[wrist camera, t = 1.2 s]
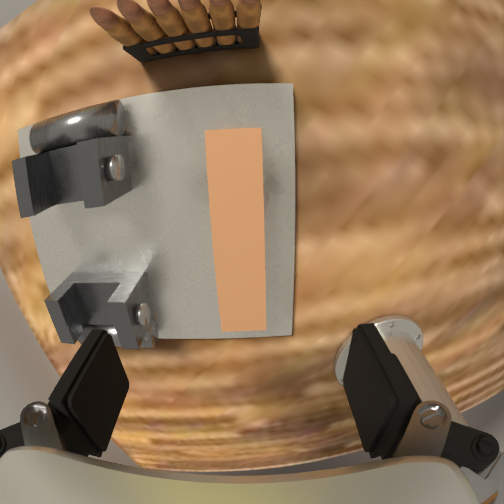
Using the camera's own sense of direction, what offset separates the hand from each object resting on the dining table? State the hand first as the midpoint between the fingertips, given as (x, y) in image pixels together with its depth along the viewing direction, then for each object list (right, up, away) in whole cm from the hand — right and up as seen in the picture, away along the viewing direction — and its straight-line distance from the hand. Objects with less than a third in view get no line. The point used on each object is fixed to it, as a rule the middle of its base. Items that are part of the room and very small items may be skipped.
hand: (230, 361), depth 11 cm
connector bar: (0, +6, +16) cm, 17 cm away
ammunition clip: (-4, +22, +11) cm, 25 cm away
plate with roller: (-9, +6, +17) cm, 20 cm away
